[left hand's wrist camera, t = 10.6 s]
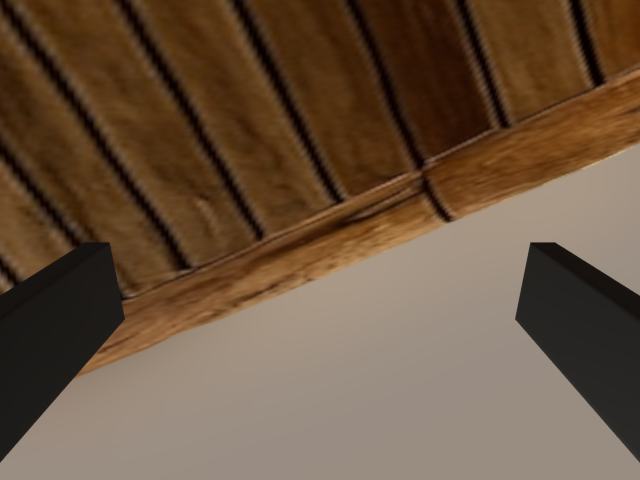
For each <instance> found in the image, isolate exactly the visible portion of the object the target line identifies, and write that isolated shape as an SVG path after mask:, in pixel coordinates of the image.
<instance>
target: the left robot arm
mask: <svg viewBox="0 0 640 480" xmlns="http://www.w3.org/2000/svg"><path fill="white" fill-rule="evenodd" d="M124 320H125V317H124V312H123V307H122V302H121V297H120V292H119V287H118V282H117V277H116V272H115V267H114V262H113V257H112V252H111V247H110V242H85V243H83V244H82V245H80V246H79V247H77V248H75V249H74V250H72V251H71V252H69V253H67V254H66V255H64V256H63V257H61V258H59V259H58V260H56V261H55V262H53V263H52V264H50V265H48V266H47V267H45V268H44V269H42V270H40V271H39V272H37V273H36V274H34V275H32V276H31V277H29V278H28V279H26V280H24V281H23V282H21V283H20V284H18V285H17V286H15V287H13V288H12V289H10V290H9V291H7V292H5V293H4V294H2V295H1V296H0V462H1V461H2V460H3V459H4V458H5V456H6V455H7V454H8V453H9V452H10V451H11V450H12V448H13V447H14V446H15V445H16V444H17V443H18V441H19V440H20V439H21V438H22V437H23V436H24V435H25V433H26V432H27V431H28V430H29V429H30V428H31V427H32V425H33V424H34V423H35V422H36V421H37V420H38V418H39V417H40V416H41V415H42V414H43V413H44V412H45V410H46V409H47V408H48V407H49V406H50V405H51V403H52V402H53V401H54V400H55V399H56V398H57V397H58V395H59V394H60V393H61V392H62V391H63V390H64V389H65V387H66V386H67V385H68V384H69V383H70V382H71V381H72V379H73V378H74V377H75V376H76V375H77V374H78V372H79V371H80V370H81V369H82V368H83V367H84V366H85V364H86V363H87V362H88V361H89V360H90V359H91V358H92V356H93V355H94V354H95V353H96V352H97V351H98V349H99V348H100V347H101V346H102V345H103V344H104V343H105V341H106V340H107V339H108V338H109V337H110V336H111V335H112V333H113V332H114V331H115V330H116V329H117V328H118V326H119V325H120V324H121V323H122V322H123V321H124ZM515 320H516V321H517V322H518V323H519V324H520V325H521V326H522V328H523V329H524V330H525V331H526V332H527V333H528V335H529V336H530V337H531V338H532V339H533V340H534V341H535V343H536V344H537V345H538V346H539V347H540V348H541V349H542V351H543V352H544V353H545V354H546V355H547V356H548V358H549V359H550V360H551V361H552V362H553V363H554V364H555V366H556V367H557V368H558V369H559V370H560V371H561V372H562V374H563V375H564V376H565V377H566V378H567V379H568V381H569V382H570V383H571V384H572V385H573V386H574V387H575V389H576V390H577V391H578V392H579V393H580V394H581V395H582V397H583V398H584V399H585V400H586V401H587V402H588V404H589V405H590V406H591V407H592V408H593V409H594V410H595V412H596V413H597V414H598V415H599V416H600V417H601V418H602V420H603V421H604V422H605V423H606V424H607V425H608V427H609V428H610V429H611V430H612V431H613V432H614V433H615V435H616V436H617V437H618V438H619V439H620V440H621V441H622V443H623V444H624V445H625V446H626V447H627V448H628V450H629V451H630V452H631V453H632V454H633V455H634V456H635V458H636V459H637V460H638V461H639V462H640V296H639V295H638V294H636V293H635V292H633V291H631V290H630V289H628V288H627V287H625V286H623V285H622V284H620V283H619V282H617V281H615V280H614V279H612V278H611V277H609V276H608V275H606V274H604V273H603V272H601V271H600V270H598V269H596V268H595V267H593V266H592V265H590V264H588V263H587V262H585V261H584V260H582V259H581V258H579V257H577V256H576V255H574V254H573V253H571V252H569V251H568V250H566V249H565V248H563V247H561V246H560V245H558V244H557V243H555V242H549V243H548V242H545V243H543V242H542V243H541V242H538V243H537V242H536V243H535V242H531V243H530V247H529V252H528V258H527V262H526V267H525V273H524V278H523V282H522V287H521V292H520V297H519V303H518V308H517V312H516V318H515Z"/></svg>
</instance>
